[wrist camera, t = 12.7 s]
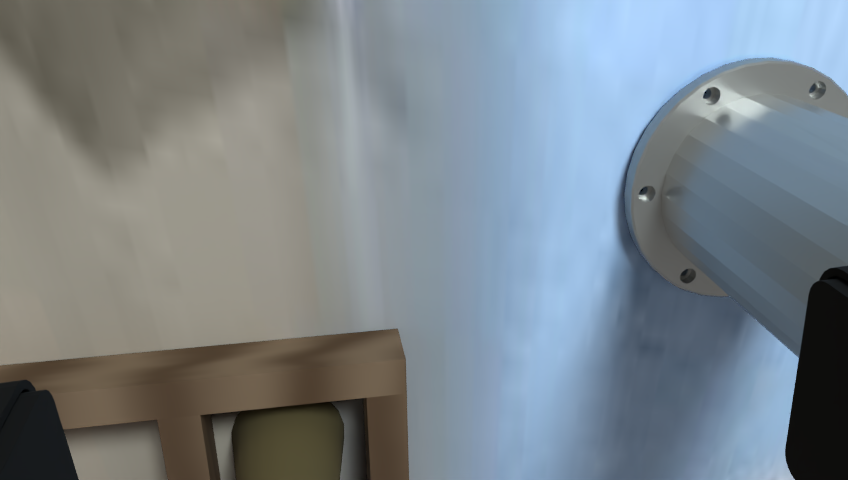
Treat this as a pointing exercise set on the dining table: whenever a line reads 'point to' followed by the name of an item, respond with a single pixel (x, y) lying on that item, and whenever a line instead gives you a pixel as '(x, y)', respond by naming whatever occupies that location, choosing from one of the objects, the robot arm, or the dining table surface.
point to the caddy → (234, 392)
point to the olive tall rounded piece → (289, 443)
